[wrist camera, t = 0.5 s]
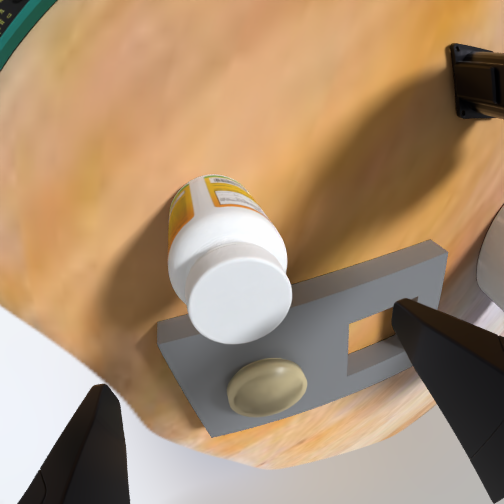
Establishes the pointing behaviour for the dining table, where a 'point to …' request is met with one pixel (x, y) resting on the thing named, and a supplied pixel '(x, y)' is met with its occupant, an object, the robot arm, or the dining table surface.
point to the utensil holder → (493, 262)
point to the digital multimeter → (18, 22)
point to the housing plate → (302, 344)
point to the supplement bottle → (227, 261)
